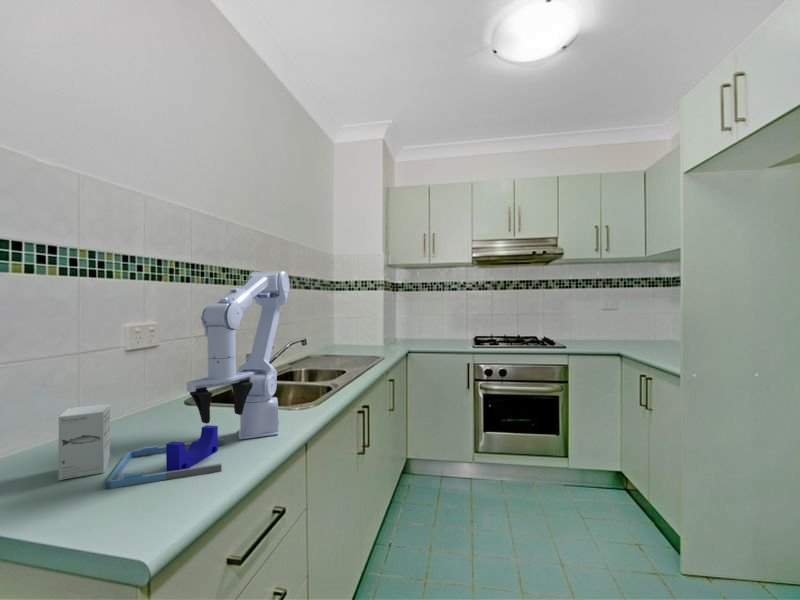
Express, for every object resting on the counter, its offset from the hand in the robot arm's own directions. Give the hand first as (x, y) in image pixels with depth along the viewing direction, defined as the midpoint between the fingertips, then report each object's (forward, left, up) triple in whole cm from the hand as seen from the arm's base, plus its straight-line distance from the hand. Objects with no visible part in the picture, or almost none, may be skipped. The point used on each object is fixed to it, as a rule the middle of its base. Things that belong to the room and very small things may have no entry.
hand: (222, 418), depth 88 cm
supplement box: (+26, -3, -9) cm, 27 cm away
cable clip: (+6, 0, -9) cm, 11 cm away
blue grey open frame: (+10, 0, -8) cm, 13 cm away
